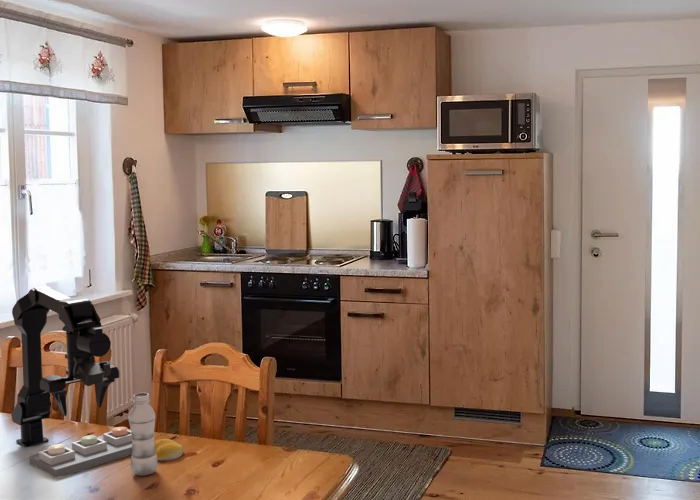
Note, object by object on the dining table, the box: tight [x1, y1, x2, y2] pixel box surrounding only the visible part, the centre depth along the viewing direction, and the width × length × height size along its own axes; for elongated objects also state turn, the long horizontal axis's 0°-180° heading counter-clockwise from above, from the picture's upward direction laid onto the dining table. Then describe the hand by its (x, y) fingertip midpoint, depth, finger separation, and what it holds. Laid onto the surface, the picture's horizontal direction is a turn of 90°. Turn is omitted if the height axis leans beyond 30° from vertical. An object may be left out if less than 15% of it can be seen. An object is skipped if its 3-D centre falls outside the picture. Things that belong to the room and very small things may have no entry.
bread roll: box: [154, 438, 184, 462], centre depth 218 cm, size 8×9×4 cm
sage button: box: [80, 434, 98, 447], centre depth 217 cm, size 4×4×2 cm
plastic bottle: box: [128, 392, 159, 477], centre depth 204 cm, size 6×7×20 cm
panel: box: [28, 428, 132, 478], centre depth 217 cm, size 14×26×4 cm, turn 136°
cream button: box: [47, 443, 66, 456], centre depth 210 cm, size 4×4×2 cm
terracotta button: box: [111, 426, 129, 438], centre depth 223 cm, size 4×4×2 cm
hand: (82, 411), depth 208 cm, fingers open, 9 cm apart
